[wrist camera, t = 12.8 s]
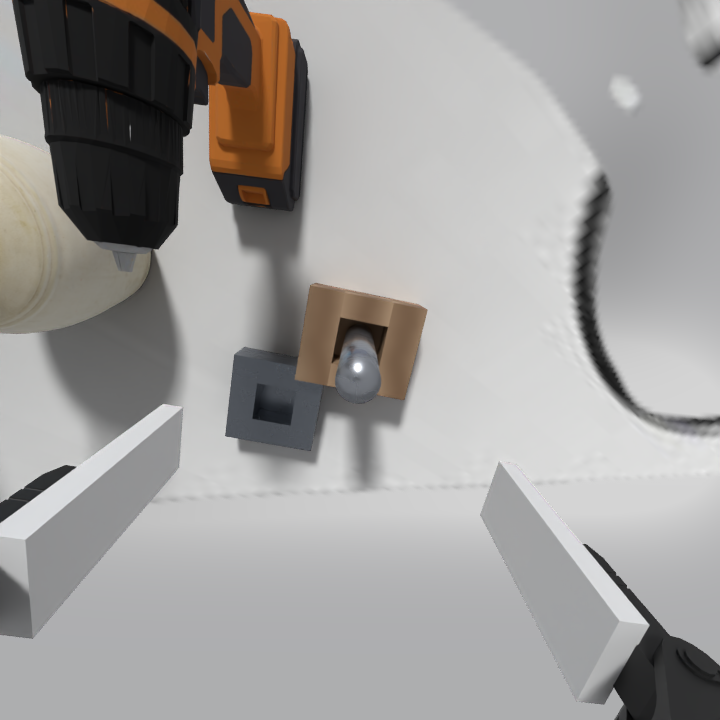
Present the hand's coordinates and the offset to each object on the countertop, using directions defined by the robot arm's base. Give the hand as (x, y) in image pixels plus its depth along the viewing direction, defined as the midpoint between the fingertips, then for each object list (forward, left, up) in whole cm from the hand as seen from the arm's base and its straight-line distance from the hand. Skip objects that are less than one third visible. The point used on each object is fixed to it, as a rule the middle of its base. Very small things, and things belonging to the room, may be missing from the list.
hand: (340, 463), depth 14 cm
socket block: (-7, -9, -27) cm, 29 cm away
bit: (+1, 0, -26) cm, 26 cm away
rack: (+1, 0, -27) cm, 27 cm away
